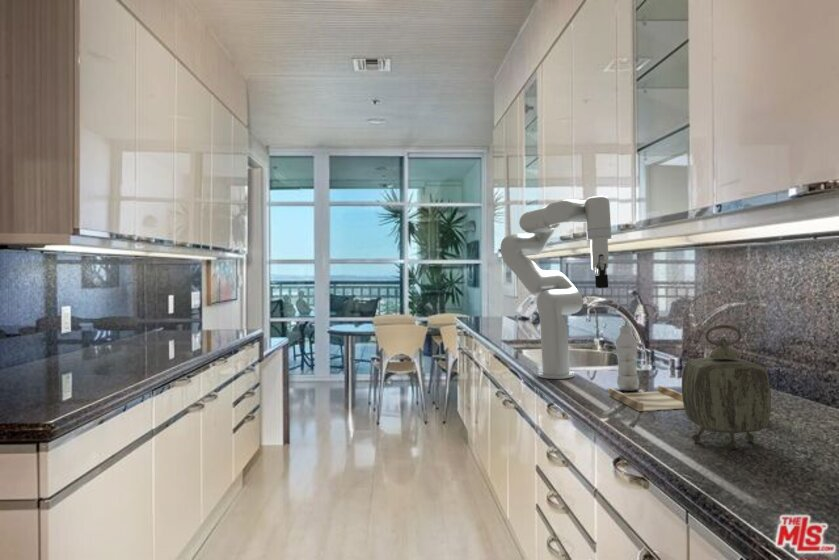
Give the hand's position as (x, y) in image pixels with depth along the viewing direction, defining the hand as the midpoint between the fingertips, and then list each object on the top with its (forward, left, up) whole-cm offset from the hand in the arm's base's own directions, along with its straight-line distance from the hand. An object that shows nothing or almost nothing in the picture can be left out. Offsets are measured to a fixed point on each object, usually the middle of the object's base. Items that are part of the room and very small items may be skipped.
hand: (601, 287), depth 172 cm
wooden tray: (+22, +4, -32) cm, 39 cm away
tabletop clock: (+62, +1, -32) cm, 70 cm away
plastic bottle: (+7, +4, -32) cm, 33 cm away
